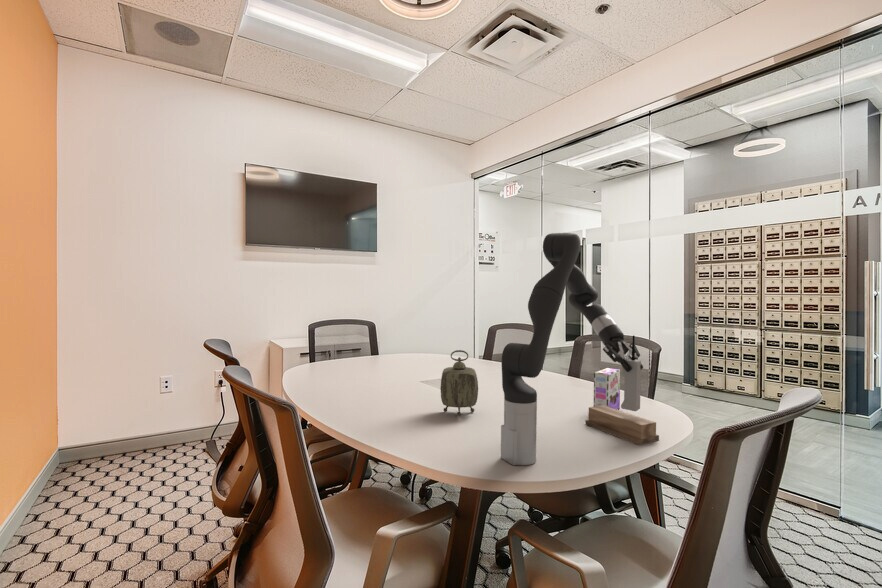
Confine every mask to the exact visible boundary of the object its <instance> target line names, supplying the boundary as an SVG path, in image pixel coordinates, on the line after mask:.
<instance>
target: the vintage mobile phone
mask: <svg viewBox="0 0 882 588" xmlns="http://www.w3.org/2000/svg"><path fill="white" fill-rule="evenodd" d="M635 339H636V338H635V335H632V342H633V345H632V355H631V357H632V359H628V358H626V357H625V359H626V360H627V361H628V363H629V364H630V365H631V367H632V370H631V371H630V372H626V370H625V369H624V368H623V366H622V365H621V366H622V375H623V376H624V377H623V378H624V381H623V382H624V386H623V387H624V388H623V389H624V390H623V392H624V393H623V396H624V397H623V401H622V403H620V409H622V410H628V411H633V412H637V411H639V410H640V409H641V384H642V383H641V381H642V380H641V379H642V378H641V377H642V375H641V374H642V373H641V372H642V370H641V364H642V360H640V359H638V360H636V359H635V354H636V353H635V349H634V344H635V343H636V342H635ZM635 345H636V344H635Z"/></svg>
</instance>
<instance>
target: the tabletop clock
mask: <svg viewBox="0 0 882 588" xmlns="http://www.w3.org/2000/svg"><path fill="white" fill-rule="evenodd" d="M454 353H464V354H465V355H466V356H467V357H466V358H461V357H460V356H459V357H458V358H454V357H453V354H454ZM450 358H451V360H453V361H455V362H454V363H453V364H452V366H449V367H445V368H443V370H442V373H441V380H440V388H439V390H440V398H441V402H442V405H443V406H445V407H444V408H443V412H444V413H446V412H448V408H458V409H457V410H458V411H457V413H456V415H457V416H458V417H460V416H462V413H461V409H462V408H469V409H470V410H469V411H470V412H471V413H474V412H475V408H473V407H475V406H476V403H477V402H478V397H479V381H478V376H477V372H476V369H474V368H472V367H468V366H466V364H465V363H464V361H466V360H468V359H469V353H468V352H467V351H465V350H462V349H459V350H454V351H452V352H451V353H450Z"/></svg>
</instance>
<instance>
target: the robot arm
mask: <svg viewBox="0 0 882 588" xmlns="http://www.w3.org/2000/svg"><path fill="white" fill-rule="evenodd" d="M542 242H543V243H542V251H543V255H544V257H545V259H546V260H547V261H548V262H549V263H550V264H551V266H552V267H553V268H552V269H551V270H550V271H548V273H546V274H545V275H543V276H542V277H541V278H540V279H539V280H538V281H537V282H536V283H535V285H534V286H533V289H532V291H531V293H530V295H529V296H530V297H529V299H528V301H527V310H528V313H529V317H530V320H531V322H532V327H533V334H532V337H531V341H530V343H529V344H528V343H518V342H509V343H507V344H506V345H505V346H504V348H503V349H502V355H501V383H502V384H501V385H502V392H503V397H504V398H503V399H504V401H503V403H504V405H503V424H501V426H500V459H501V460H502V459H503V460H504V461H505V462H507V463H508V464H510V465H511V466H530V465H532V464H533V465H534V464H535V463H536V461H537V423H538V422H537V419H538V417H537V411H538V409H537V408H538V392H537V390H536V389H535V388H534V387H532V386H531V385H529V384H528V383H526V382H525V381H524V379H523V378H531V379H534V378H537V377H538V376H539V374H541V371H542V369H543V367H544V364H545V359H546V355H547V351H548V347H549V341H550V337H551V333H552V331H553V328H554V327H553V326H554V324H555V321H556V318H557V315H558V312H559V309H560V307H561V303H562V300H563V296H564V294H565V290H566V286H567V288H568V291H569V292H570V294H569V295H568V301H569V303H570V306H572V307H573V308H574V309H575V310H576V311H578V312H579V313H580V314H582V315H583V316H584V317H585V318H586V320H587V321H588V323H589V324H590V326H591V327H592V329H593V330H594V332H595V334H596V335H597V337H598V338H599V340H600V341H601V342H602V344H603V346H604V347H603V348H602V351H603V352H604V353H605V354H606V355H607V356H608V357H609V358H610V359H611V360H612V361H613V363H619V364H620V365H621V366H623V368H624V369H625V370H626V372H630V371H631V370H632V367H631V365H630V364H629V363H628V361H627V360H626V359H625V358H628V359H632V345H633V341H631V343H628V342H627V340H626V339H624V332H623V331H622V330H621V328H620V327H619V326H618V324H617V323H616V321H614V319H613V318H612V317H611V316H610V315H609V314H608V312H607V311H606V309H605V308H604V307H603V306H602V305H601V304H600V303H599V304H598V303H597V304H596V303H595V304H592V303H594V302H596V301H597V300H598V297H599V293H598V291H597V289H596V288H595V287H594V286H593V285H591V284H590V283H589V281H588V280H587V278H586V276H585V274H584V272H583V271H582V269H581V268H580V267H578V265H576V263H577V259H578V256H579V254H580V251H581V237H580V235H578V234H577V233H575V232H554V233H553V232H552V233H548V234H546V235H545V236H544V238H543V241H542ZM590 304H592V305H590ZM634 349H635V359H636V360H639V358H640V356H641V354H640V352H639V349H638V348H637V346H636V344H634ZM623 368H622V369H623ZM643 368H644V366H643V364H642V363H641V371H642V370H643Z"/></svg>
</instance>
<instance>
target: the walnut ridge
mask: <svg viewBox="0 0 882 588" xmlns="http://www.w3.org/2000/svg"><path fill="white" fill-rule="evenodd" d="M593 406H594V405H593ZM593 406H589V407H588V419H586V420H585V425H586V424H587V425H586V426H588V425H589V426H588V427H591V428H594V429H596V430H599V431H601V432H605V433H606V434H609V435H611V436H612V435H613V436H615V437H617V438H620V439H622V440H624V441H628V442H630V443H633V444H635V445H637V446H639V445H642V444H646V443H651V442H652V443H653V442H657V441H659V440H660V435H659V434H657V422H656V421H654V420H651V419H647V418H644V417H640V416H638V415H635V414H631V413H628V412H625V411H622V410H620V409H618V410H616V409H613V408H610V407H607V406H603V405H601V406H594V407H593Z"/></svg>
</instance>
